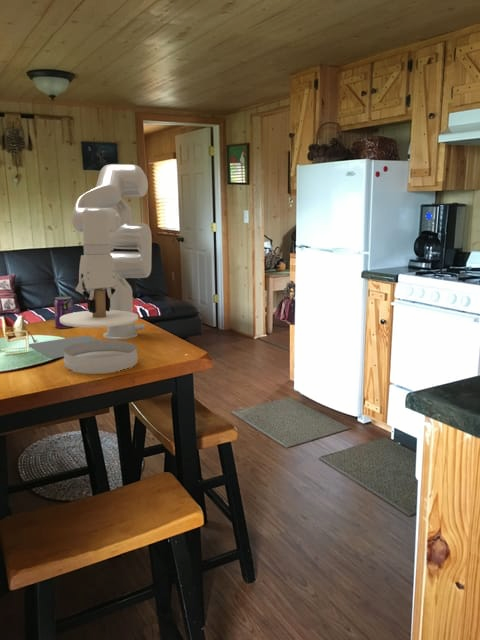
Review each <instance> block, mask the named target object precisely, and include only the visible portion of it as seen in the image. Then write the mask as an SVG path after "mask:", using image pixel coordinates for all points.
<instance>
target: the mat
mask: <svg viewBox="0 0 480 640" xmlns="http://www.w3.org/2000/svg"><path fill="white" fill-rule="evenodd" d="M98 340H99V339H98V338H95V337H93V336H91V335H81V336H74V337H67V338H60V339H59V338H58V339H54V340H46V341H41V342H33V343H28V344H29V348H31V349H33V350H34V351H36V352H38V353H41V354H42V355H44V356H46V357H48V358H49V359H52V360H53V359H59V358H64V349H65V348H67V347H68V346H71V345H73V344H77V343H82V342H88V341H98ZM110 349H111V348H110Z"/></svg>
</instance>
